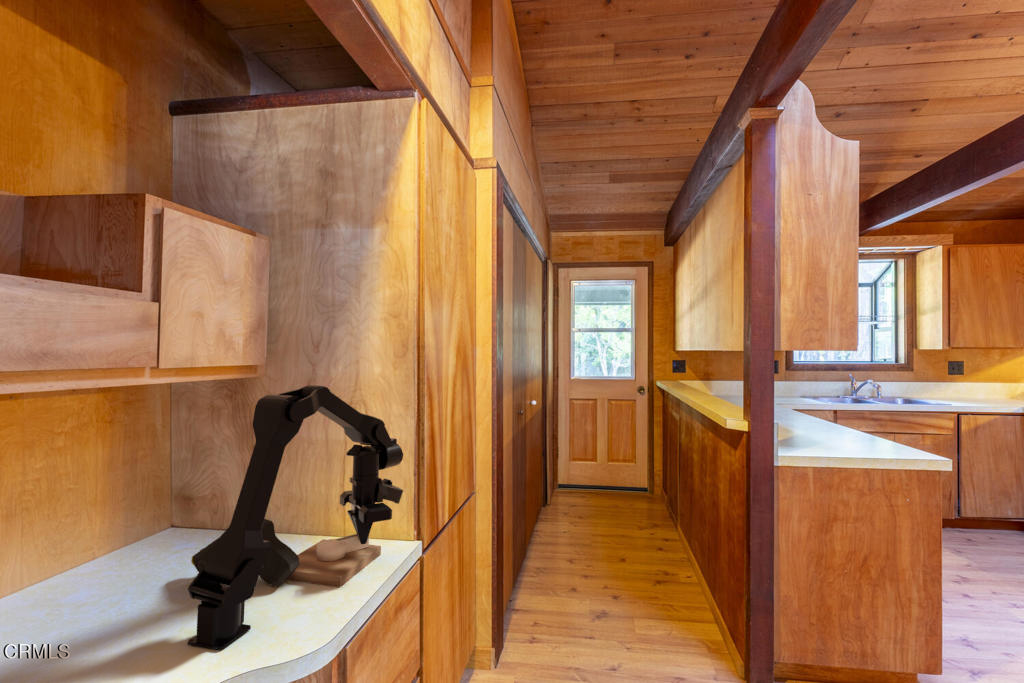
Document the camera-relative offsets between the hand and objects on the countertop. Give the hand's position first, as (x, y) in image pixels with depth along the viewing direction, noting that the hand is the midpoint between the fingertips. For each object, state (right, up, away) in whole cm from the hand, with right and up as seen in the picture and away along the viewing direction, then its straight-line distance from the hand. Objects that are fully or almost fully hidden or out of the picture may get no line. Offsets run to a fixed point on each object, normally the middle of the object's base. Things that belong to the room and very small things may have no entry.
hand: (363, 543), depth 111 cm
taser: (-21, -3, -11) cm, 24 cm away
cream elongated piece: (-4, -1, -1) cm, 5 cm away
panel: (-6, -3, -3) cm, 8 cm away
